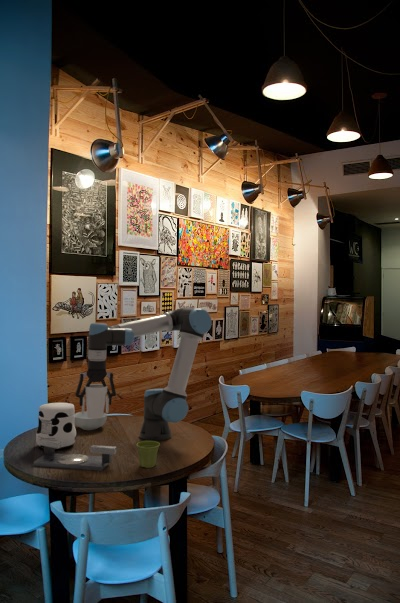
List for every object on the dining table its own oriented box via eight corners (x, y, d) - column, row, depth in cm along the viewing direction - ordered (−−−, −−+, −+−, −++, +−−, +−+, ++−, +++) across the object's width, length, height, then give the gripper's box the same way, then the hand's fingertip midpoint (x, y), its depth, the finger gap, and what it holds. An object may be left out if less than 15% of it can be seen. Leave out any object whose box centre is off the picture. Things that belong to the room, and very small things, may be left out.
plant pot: (139, 470, 191) (140, 448, 190) (133, 463, 199) (133, 441, 199) (162, 468, 194) (163, 446, 194) (155, 460, 203) (155, 439, 203)
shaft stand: (120, 460, 202) (120, 442, 202) (110, 471, 189) (111, 452, 189) (41, 455, 207) (41, 437, 207) (26, 465, 194) (26, 446, 194)
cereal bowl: (94, 434, 240) (94, 419, 240) (66, 430, 246) (66, 416, 246) (112, 426, 256) (113, 412, 256) (85, 422, 262) (85, 409, 262)
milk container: (73, 439, 231) (74, 401, 231) (78, 450, 214) (79, 409, 214) (35, 442, 225) (35, 403, 225) (36, 453, 208) (37, 411, 208)
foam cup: (93, 420, 200) (95, 388, 200) (78, 416, 205) (80, 385, 205) (110, 416, 208) (112, 386, 208) (96, 413, 213) (97, 383, 213)
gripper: (71, 361, 199) (68, 416, 199) (124, 360, 207) (122, 414, 207) (69, 358, 207) (67, 412, 206) (121, 358, 214) (119, 410, 214)
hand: (95, 413), depth 207 cm, fingers closed on foam cup, 9 cm apart
